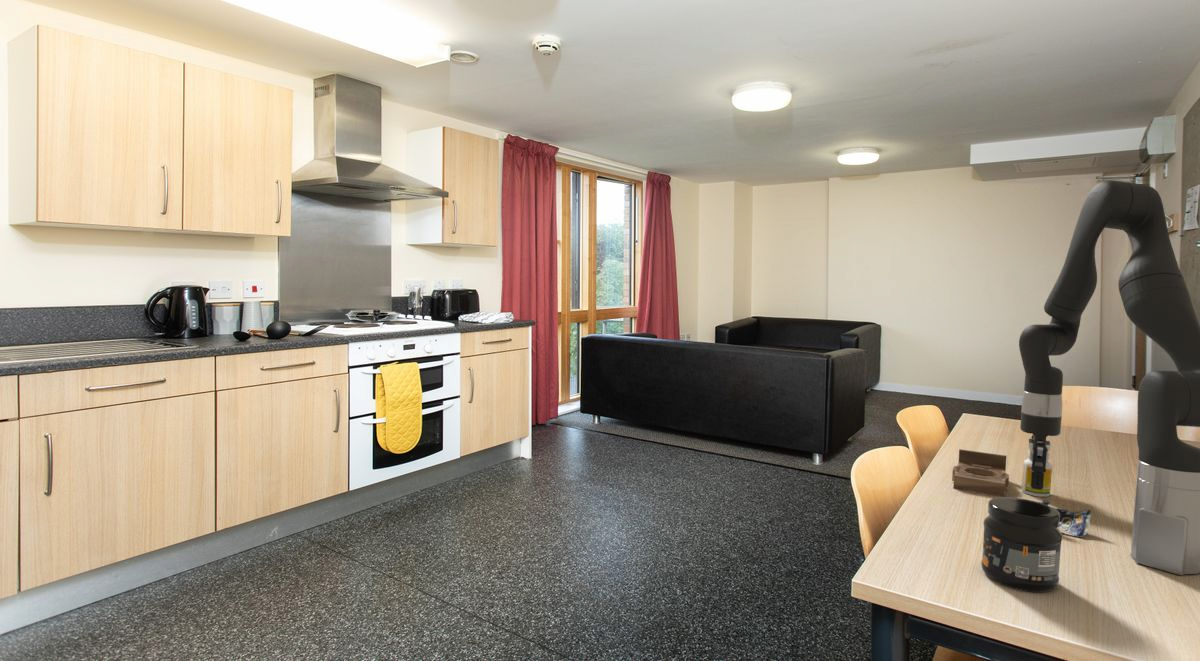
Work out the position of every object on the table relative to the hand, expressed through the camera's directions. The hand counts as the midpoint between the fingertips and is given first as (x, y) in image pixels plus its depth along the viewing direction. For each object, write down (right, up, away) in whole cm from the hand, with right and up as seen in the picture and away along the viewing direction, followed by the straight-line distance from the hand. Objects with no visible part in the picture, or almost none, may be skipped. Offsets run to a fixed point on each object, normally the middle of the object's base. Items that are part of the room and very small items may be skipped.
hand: (1036, 484), depth 144 cm
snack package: (-11, -4, -19) cm, 22 cm away
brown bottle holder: (-9, -1, +6) cm, 11 cm away
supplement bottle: (0, -2, 0) cm, 2 cm away
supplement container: (-32, -5, -42) cm, 53 cm away
